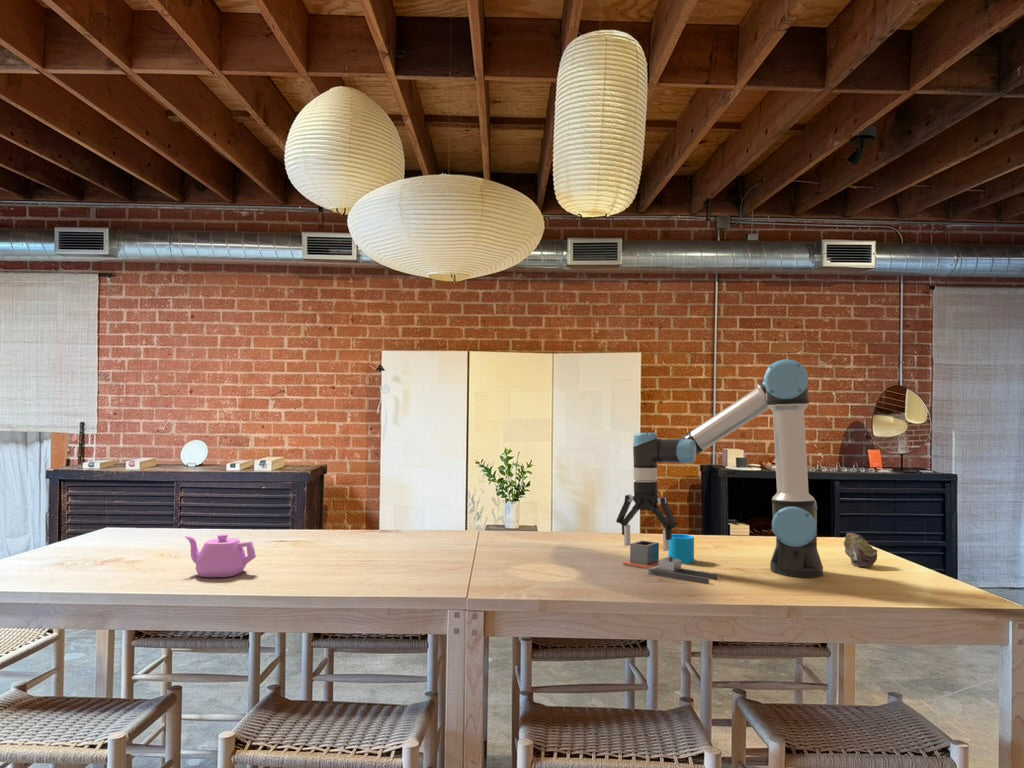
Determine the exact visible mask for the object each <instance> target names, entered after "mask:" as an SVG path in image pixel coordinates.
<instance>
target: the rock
mask: <svg viewBox="0 0 1024 768" xmlns="http://www.w3.org/2000/svg"><path fill="white" fill-rule="evenodd" d="M843 546H844V548H845V549H844V553H845V554H846V555H847V556H848V558H850V563H851V564H852V566H854V567H857V568H861V567H866V568H871V567H873V566H874V564H875V563H876V562H877V559H878V549H875V548H873V546H871V545H870V544H869V541H868V540H867V539H865V538H864V537H863V536H862V535H861V534H857V533H852V532H847V533H846V534H845V537H844V541H843Z"/></svg>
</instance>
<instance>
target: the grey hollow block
mask: <svg viewBox="0 0 1024 768" xmlns="http://www.w3.org/2000/svg"><path fill="white" fill-rule="evenodd" d="M659 544H660V542H655V541H650V540H638V541H636V542H632V543H631V542H630V545H629V547H630V548H629V550H630V551H629V560H630V563H634V564H640V565H646V566H648V565H651V564H654V563H656V562H659V560H660V559H659V557H660V555H659V552H660V545H659Z"/></svg>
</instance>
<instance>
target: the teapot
mask: <svg viewBox="0 0 1024 768" xmlns="http://www.w3.org/2000/svg"><path fill="white" fill-rule="evenodd" d="M216 536H217V538H213V539H208V540H207V541H205V542H204V543H203V546H202V547H201V550H200V551H199V549H198V545H197V541H196V540H195V538H193V537H192V536H187V535H186V536H184V538H186V540H188V541H189V544H190V558H191V560H192V562H193V563H194V564H195V572H196V573H197V574H198V576H199V577H202V578H228V577H234V576H237V575H239V574H241V573H242V572H243V571H244V569H245V568H246V566H247V564H249V563H250V562H252V561H253V560H254V559H255V558H256V557H257V554H256V552H255V547H254V542H253V541H245V542H241V540H240V539H239V538H230V537H228V534H225V533H224V534H218V535H216ZM245 547H246V553H247V554H246V553H245V550H244V548H245ZM246 555H247V556H246Z"/></svg>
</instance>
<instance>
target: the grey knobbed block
mask: <svg viewBox="0 0 1024 768" xmlns="http://www.w3.org/2000/svg"><path fill="white" fill-rule="evenodd" d="M681 568H682V564H681V560H679V559H673V557H672V556H668V555H667V556H666V557H664V558H663V557H662V558H660V559H659V562H658V570H663V571H669V572H675V573H681Z"/></svg>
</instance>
